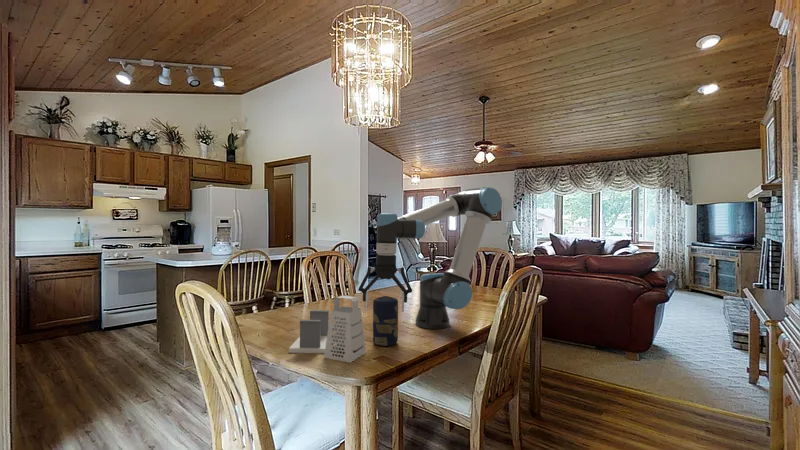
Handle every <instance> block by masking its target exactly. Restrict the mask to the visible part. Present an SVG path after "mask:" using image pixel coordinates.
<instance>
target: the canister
mask: <svg viewBox="0 0 800 450" xmlns="http://www.w3.org/2000/svg"><path fill="white" fill-rule="evenodd" d="M372 303H373V304H372V336H373V337H372V342H373V344H375V345H378V346H384V347H389V346H393V345H395V344H397V342H398V339H399V301H398V298H396V297H392V296H388V295H382V296H380V297H376V298H375V299H373V301H372Z"/></svg>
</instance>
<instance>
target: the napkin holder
mask: <svg viewBox="0 0 800 450" xmlns="http://www.w3.org/2000/svg"><path fill="white" fill-rule="evenodd" d="M329 313H330V310H329V309H327V310H326V309H323V310H322V309H311V310H309V319H300V320H299V336H298V337H297V338H296V340H295V341H293V343H292V345H290V346H289V348H288V352H289V353H290V354H292V353H293V354H294V353H295V354H297V353H298V354H325V347H326V341H327V334H328V327H329V321H330V314H329Z"/></svg>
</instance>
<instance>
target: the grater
mask: <svg viewBox="0 0 800 450" xmlns="http://www.w3.org/2000/svg"><path fill="white" fill-rule="evenodd" d="M341 299H349V300H350V301H351V302H352V307H351V306H344V305H343V306H340V305H341V304H340V301H341ZM361 309H362V308H360V307H359V300H358V298H357V296H350V295H339V296H337V297H335V298H334V300H333V309H332V310H331V311H330V314H329V322H328V334H327V341H326V347H325V353H323V357H324V359H328V358H329V360H334V361H335V360H336V361H339V360H340V362H345V361H346V363H352V361H353V362H354V361H356V360H357V359H359V358H360V357H362V356H363V355H364V354H366V353H367V349H366V340H365V333H364V324H363V317H362V310H361ZM340 352H341V353H340ZM339 355H340V356H339ZM361 355H362V356H361ZM342 356H343V357H342ZM358 357H359V358H358ZM355 359H356V360H355Z"/></svg>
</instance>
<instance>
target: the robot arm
mask: <svg viewBox="0 0 800 450" xmlns="http://www.w3.org/2000/svg"><path fill="white" fill-rule="evenodd" d="M502 207H503V200H502V197H501V194H500V192H499V191H498V190H497V189H496V188H494V187H490V186H489V187H486V186H484V187H476V188H468V189H464V190H461V191H460V192H457V193H454V194H453V195H450V196H447V197H446V198H445V199H444V200H442V201H439V202H436V203H434V204H431V205H428V206H426V207H424V208H421V209H417V210H414V211H411V212H410V213H406V214H404V215H401V216H398V215H397V214H396V213H381V212H380V213H379V214H378V215H377V219H376V249H375V250H376V252H375V253H376V257H375V258H376V259H375V267H374V266H373V267H372V266H368V267H367V270H366V274H365V275H364V278H363V280H362V281H361V283H360V285H359V287H358V290H357V291H358V292H361V293H362V301H363V302H365V308H364V310H365V312H367V311H368V310H369V293H370V292H369V289H370V288H372V286H373V285H374V284H375V283H376V281H378V280H379V279H380V280H390V279H392V280H393V281H394V282H395V284H396V285H397V286H398V287H399V289H400V290H401V291H402V295H401V312H402V313H403V312H405V303H408V295H409V294H410V293H413V288H412V286H411V284H410V282H409V280H408V278H407V276H406V273H405V268H404V267H403V266H402V267H397V255H396V254H397V240H398V239H399V240H400V239H403V240H405V239H407V240H408V239H411V240H418V239H422V238H423V237H424V236H425V234H426V226H429V225H431V224H433V223H434V224H435V223H436V222H438V221H441V220H443V219H446V218H448V217H453V218H455V217H457V216H461V215H462V216H463V215H465V217H466V220H465V223H464V227H463V228H462V232H461V235H460V238H459V241H458V242H457V246H456V249H455V251H454V255H453V258H452V261H451V264H450V265H449V268H448V269H447V270H445V271H444V273H443V272H437V273H435V272H434V273H423V274H421V275H420V278H419V308H418V311H417V315H416V317H415V325H416V326H417V327H420V328H422V329H428V330H441V329H446V328H448V327H450V317H449V315H448V311H447V308H449V309H454V310H462V309H464V308H465V307H467V306H468V305H469V304H470V303H471V301H472V297H473V291H472V289H473V288H472V287H471V282H472V280H471V278H470V274H471V270H472V267H473V264H474V261H475V259H476V256H477V253H478V250H479V246H480V245H481V244H480V243H481V241H482V237H483V235H484V232H485V229H486V225H487V224H490V223H491V222H492V219H493V217H494V216H495V215H496V214H498V213H500V211H501V209H502ZM373 272H375V273H376V275H375V276H374V277H373V279H371V281H370V282H369V283H368V284H367V285H366V286H365V284H366V282H367V281H368V279H369V277H370V275H371V274H372V273H373ZM397 272H398V273H399V274H400V275H401V277H402V280H403V282H404V283H405V285H406V288H407V289H406V288H405V286H404V285H403V284H402V282H401V281H400V280H399V279H398V277H397V276H396V273H397ZM364 286H365V287H364Z"/></svg>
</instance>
